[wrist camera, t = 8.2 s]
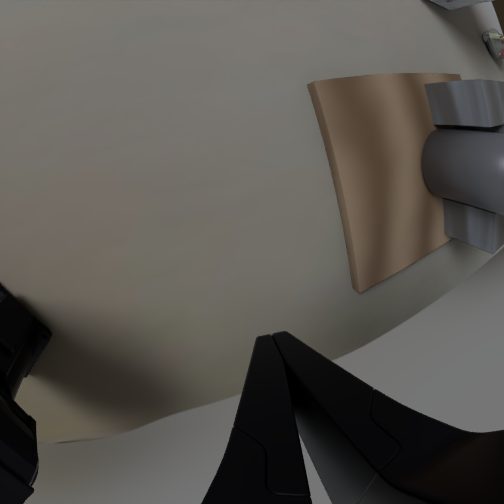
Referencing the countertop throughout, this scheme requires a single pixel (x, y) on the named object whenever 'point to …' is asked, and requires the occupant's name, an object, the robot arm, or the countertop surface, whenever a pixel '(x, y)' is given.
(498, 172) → the gray cup
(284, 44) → the countertop surface
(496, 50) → the figurine
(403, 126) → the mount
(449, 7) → the light bulb box
